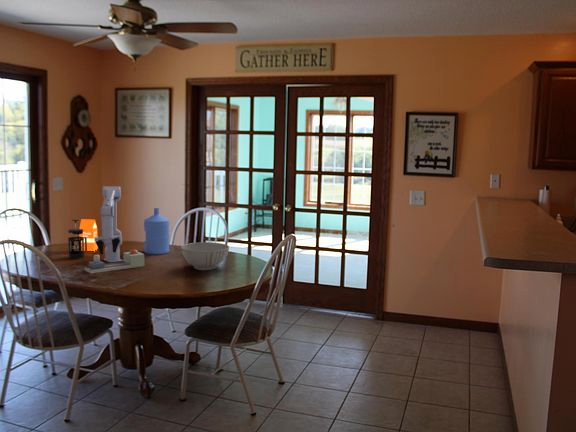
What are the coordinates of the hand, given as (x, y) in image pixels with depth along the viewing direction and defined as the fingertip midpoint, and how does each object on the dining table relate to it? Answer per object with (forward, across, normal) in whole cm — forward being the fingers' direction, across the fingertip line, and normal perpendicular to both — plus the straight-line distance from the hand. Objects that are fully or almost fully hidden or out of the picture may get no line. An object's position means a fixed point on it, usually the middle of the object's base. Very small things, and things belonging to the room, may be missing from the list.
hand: (108, 253), depth 304 cm
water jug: (+9, +48, +25) cm, 55 cm away
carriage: (+7, -4, +5) cm, 10 cm away
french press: (+9, +4, +43) cm, 44 cm away
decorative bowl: (+10, +44, -28) cm, 53 cm away
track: (+10, +7, +4) cm, 13 cm away
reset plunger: (+5, +18, +3) cm, 18 cm away
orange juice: (+9, +19, +57) cm, 61 cm away
